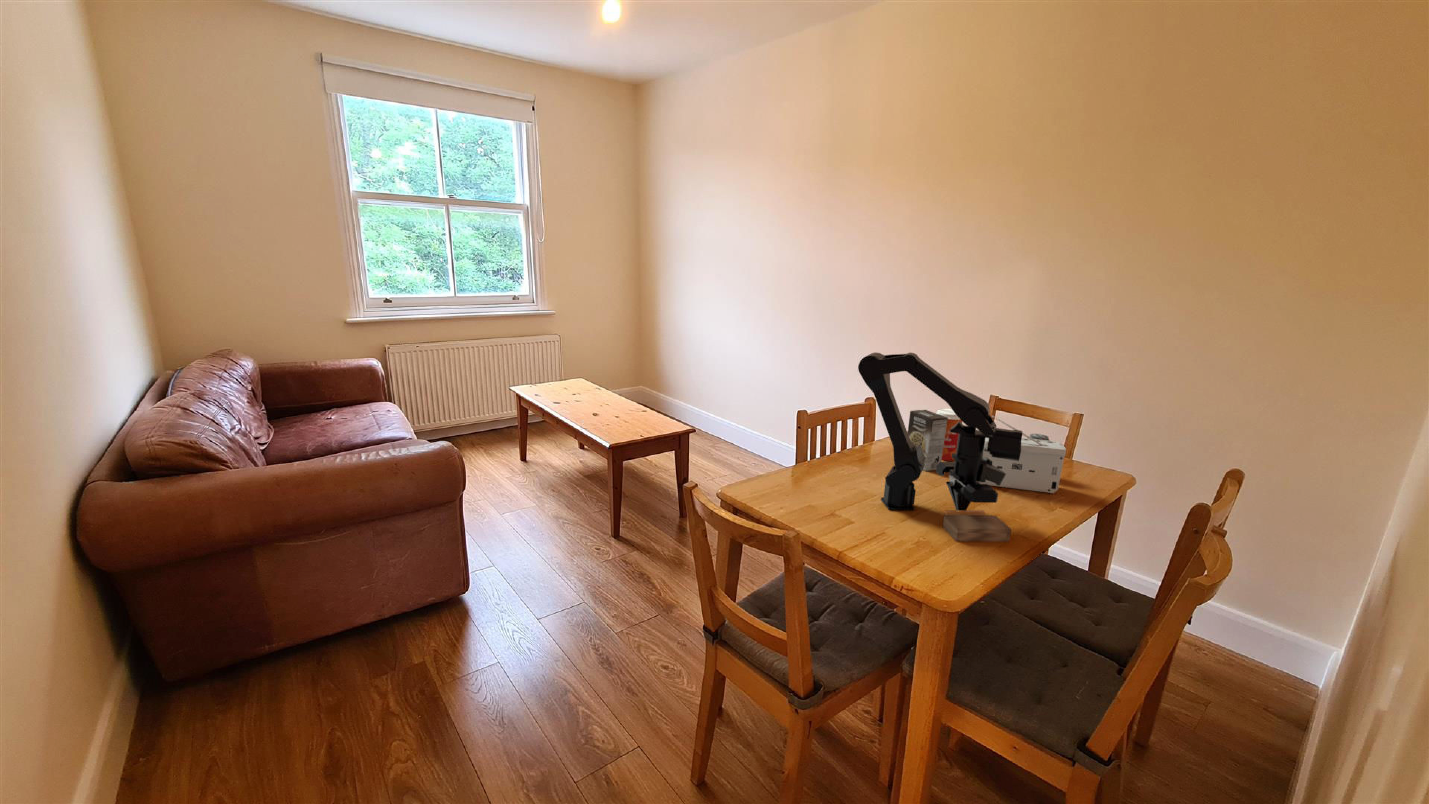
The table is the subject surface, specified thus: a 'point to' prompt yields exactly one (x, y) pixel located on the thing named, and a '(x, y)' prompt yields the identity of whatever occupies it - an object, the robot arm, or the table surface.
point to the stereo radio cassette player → (1031, 465)
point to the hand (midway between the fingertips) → (960, 514)
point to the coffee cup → (949, 434)
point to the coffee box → (928, 435)
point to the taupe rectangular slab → (976, 528)
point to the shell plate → (964, 512)
